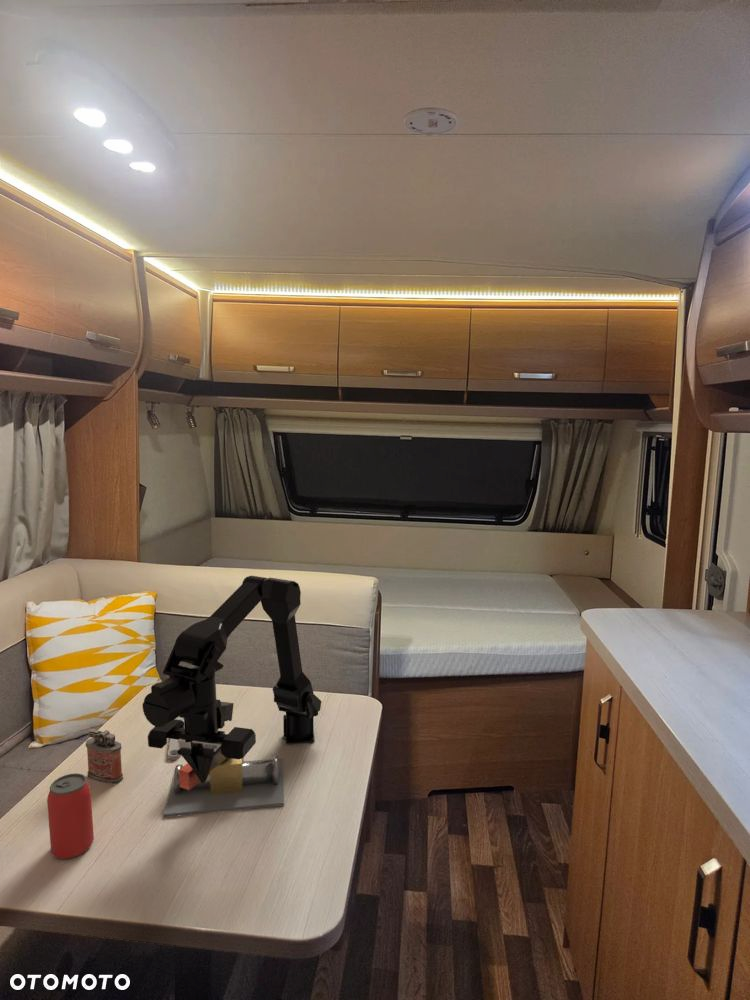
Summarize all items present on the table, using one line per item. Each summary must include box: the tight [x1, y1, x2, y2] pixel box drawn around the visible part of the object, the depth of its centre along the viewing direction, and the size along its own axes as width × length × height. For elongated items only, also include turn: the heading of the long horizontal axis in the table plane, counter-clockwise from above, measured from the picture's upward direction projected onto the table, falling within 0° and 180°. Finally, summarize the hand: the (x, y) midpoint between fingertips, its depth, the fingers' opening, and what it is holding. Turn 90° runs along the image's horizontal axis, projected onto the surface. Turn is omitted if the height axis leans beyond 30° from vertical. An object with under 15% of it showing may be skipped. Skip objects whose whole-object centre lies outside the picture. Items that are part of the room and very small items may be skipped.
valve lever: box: [179, 750, 226, 790], centre depth 113 cm, size 13×2×3 cm, turn 155°
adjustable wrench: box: [167, 716, 184, 761], centre depth 139 cm, size 25×6×2 cm, turn 11°
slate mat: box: [163, 757, 285, 818], centre depth 118 cm, size 22×15×1 cm
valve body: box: [173, 756, 279, 795], centre depth 118 cm, size 20×6×7 cm, turn 100°
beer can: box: [46, 773, 95, 860], centre depth 101 cm, size 7×7×12 cm
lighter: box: [85, 728, 124, 785], centre depth 120 cm, size 8×3×10 cm, turn 71°
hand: (203, 781), depth 108 cm, fingers closed
